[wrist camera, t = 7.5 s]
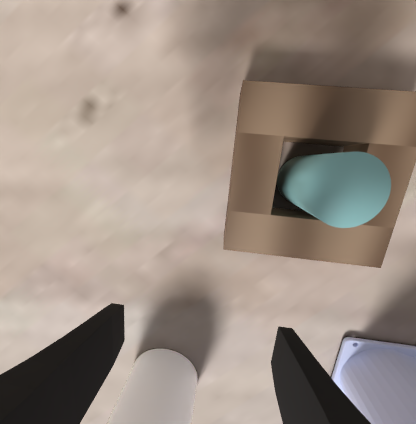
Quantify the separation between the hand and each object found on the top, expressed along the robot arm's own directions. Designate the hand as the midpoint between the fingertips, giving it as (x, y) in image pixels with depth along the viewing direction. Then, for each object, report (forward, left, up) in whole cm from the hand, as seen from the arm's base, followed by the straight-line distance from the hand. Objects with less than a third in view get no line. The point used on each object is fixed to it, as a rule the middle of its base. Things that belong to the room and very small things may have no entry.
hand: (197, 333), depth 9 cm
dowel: (-7, -7, -10) cm, 14 cm away
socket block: (-7, -7, -10) cm, 14 cm away
